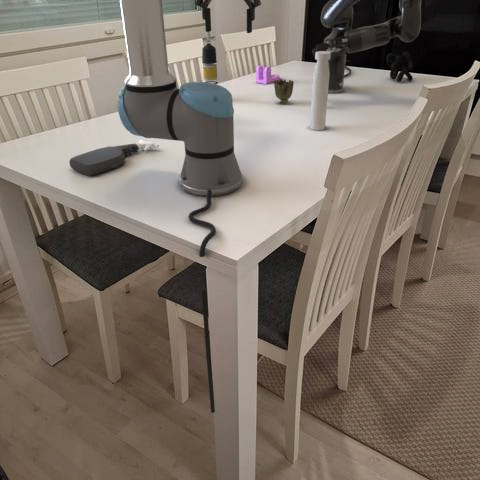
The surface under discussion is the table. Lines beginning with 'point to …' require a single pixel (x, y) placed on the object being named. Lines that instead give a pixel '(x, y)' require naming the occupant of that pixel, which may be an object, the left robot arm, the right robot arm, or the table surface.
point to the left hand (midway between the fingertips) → (228, 32)
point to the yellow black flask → (209, 61)
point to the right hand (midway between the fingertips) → (314, 50)
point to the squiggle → (399, 66)
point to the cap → (322, 55)
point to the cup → (283, 90)
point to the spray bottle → (106, 157)
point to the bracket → (265, 75)
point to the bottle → (319, 95)
